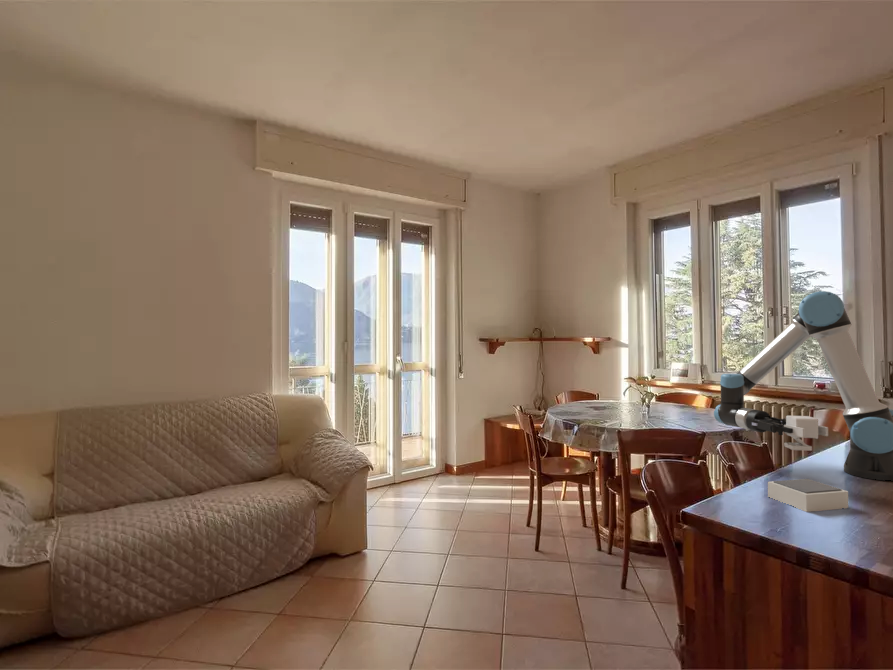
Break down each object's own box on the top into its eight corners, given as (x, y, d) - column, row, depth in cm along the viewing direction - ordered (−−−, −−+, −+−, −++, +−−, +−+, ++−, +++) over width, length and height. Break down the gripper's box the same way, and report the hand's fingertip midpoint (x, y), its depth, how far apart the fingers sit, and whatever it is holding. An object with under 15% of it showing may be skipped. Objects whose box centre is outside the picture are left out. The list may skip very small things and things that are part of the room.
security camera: (818, 451, 146) (818, 419, 147) (793, 450, 148) (793, 418, 148) (807, 446, 153) (807, 415, 153) (783, 445, 154) (783, 415, 154)
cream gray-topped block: (807, 494, 142) (807, 477, 142) (848, 508, 131) (848, 489, 131) (767, 497, 140) (767, 480, 140) (806, 511, 128) (806, 493, 128)
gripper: (778, 429, 170) (843, 442, 148) (728, 431, 166) (787, 446, 144) (778, 408, 170) (842, 418, 148) (728, 410, 166) (787, 421, 144)
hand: (815, 432), depth 146 cm, fingers closed on security camera, 8 cm apart
